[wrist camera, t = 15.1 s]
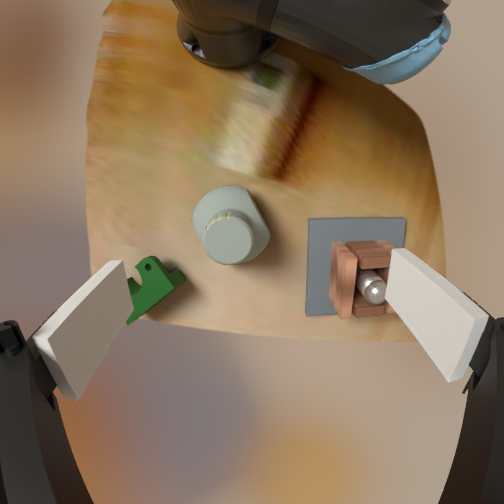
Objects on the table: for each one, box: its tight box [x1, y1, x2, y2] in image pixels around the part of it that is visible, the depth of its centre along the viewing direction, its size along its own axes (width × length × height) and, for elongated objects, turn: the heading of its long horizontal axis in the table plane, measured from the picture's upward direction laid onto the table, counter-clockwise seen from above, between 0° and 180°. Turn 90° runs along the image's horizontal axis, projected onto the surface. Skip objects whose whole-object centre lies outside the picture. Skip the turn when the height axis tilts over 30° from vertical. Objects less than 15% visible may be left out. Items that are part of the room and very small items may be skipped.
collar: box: [329, 240, 396, 319], centre depth 40 cm, size 9×9×7 cm
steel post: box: [355, 264, 387, 305], centre depth 38 cm, size 4×4×10 cm
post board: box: [305, 217, 406, 316], centre depth 44 cm, size 16×16×1 cm
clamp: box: [126, 256, 185, 325], centre depth 42 cm, size 12×6×9 cm, turn 123°
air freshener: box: [192, 186, 271, 265], centre depth 37 cm, size 11×8×10 cm
